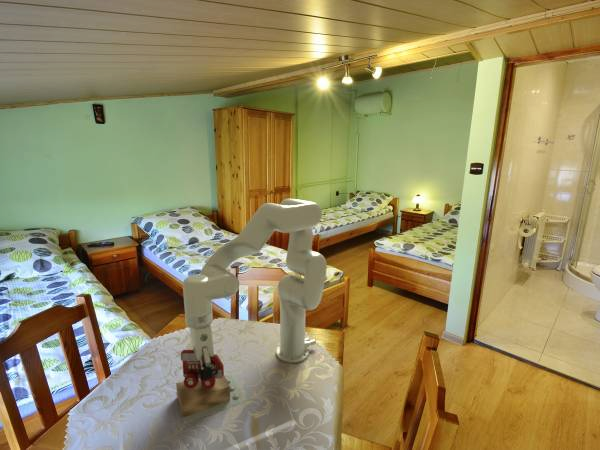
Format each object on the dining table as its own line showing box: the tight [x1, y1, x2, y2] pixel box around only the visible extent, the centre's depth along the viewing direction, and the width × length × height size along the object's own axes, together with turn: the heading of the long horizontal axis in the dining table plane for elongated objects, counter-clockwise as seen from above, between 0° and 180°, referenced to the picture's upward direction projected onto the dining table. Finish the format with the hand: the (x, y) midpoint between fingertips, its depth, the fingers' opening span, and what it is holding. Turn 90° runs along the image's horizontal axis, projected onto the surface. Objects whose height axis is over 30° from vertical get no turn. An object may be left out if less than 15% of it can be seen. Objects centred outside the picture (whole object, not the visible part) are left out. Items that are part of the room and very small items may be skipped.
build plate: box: [175, 374, 246, 425], centre depth 100 cm, size 18×14×2 cm
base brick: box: [175, 374, 230, 419], centre depth 99 cm, size 14×9×5 cm, turn 120°
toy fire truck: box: [180, 349, 225, 389], centre depth 97 cm, size 7×12×10 cm, turn 90°
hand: (202, 369), depth 97 cm, fingers closed on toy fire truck, 8 cm apart
